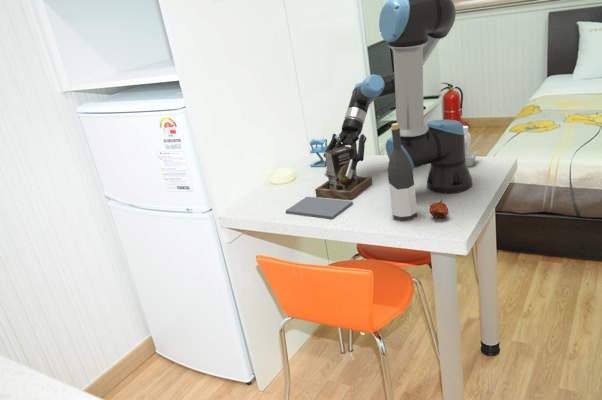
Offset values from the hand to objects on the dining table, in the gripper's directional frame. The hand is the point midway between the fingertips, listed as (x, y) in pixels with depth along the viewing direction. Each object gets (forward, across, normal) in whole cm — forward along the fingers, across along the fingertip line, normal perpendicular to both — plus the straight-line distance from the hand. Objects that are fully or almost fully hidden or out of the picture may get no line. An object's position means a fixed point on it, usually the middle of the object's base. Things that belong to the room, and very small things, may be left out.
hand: (337, 176), depth 187 cm
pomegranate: (+13, -43, +3) cm, 45 cm away
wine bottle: (+13, -32, +3) cm, 35 cm away
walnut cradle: (+3, 0, -7) cm, 8 cm away
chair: (-16, +28, -26) cm, 41 cm away
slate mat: (+15, 0, +5) cm, 15 cm away
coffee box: (+3, 0, -7) cm, 8 cm away
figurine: (-21, -34, -31) cm, 51 cm away
